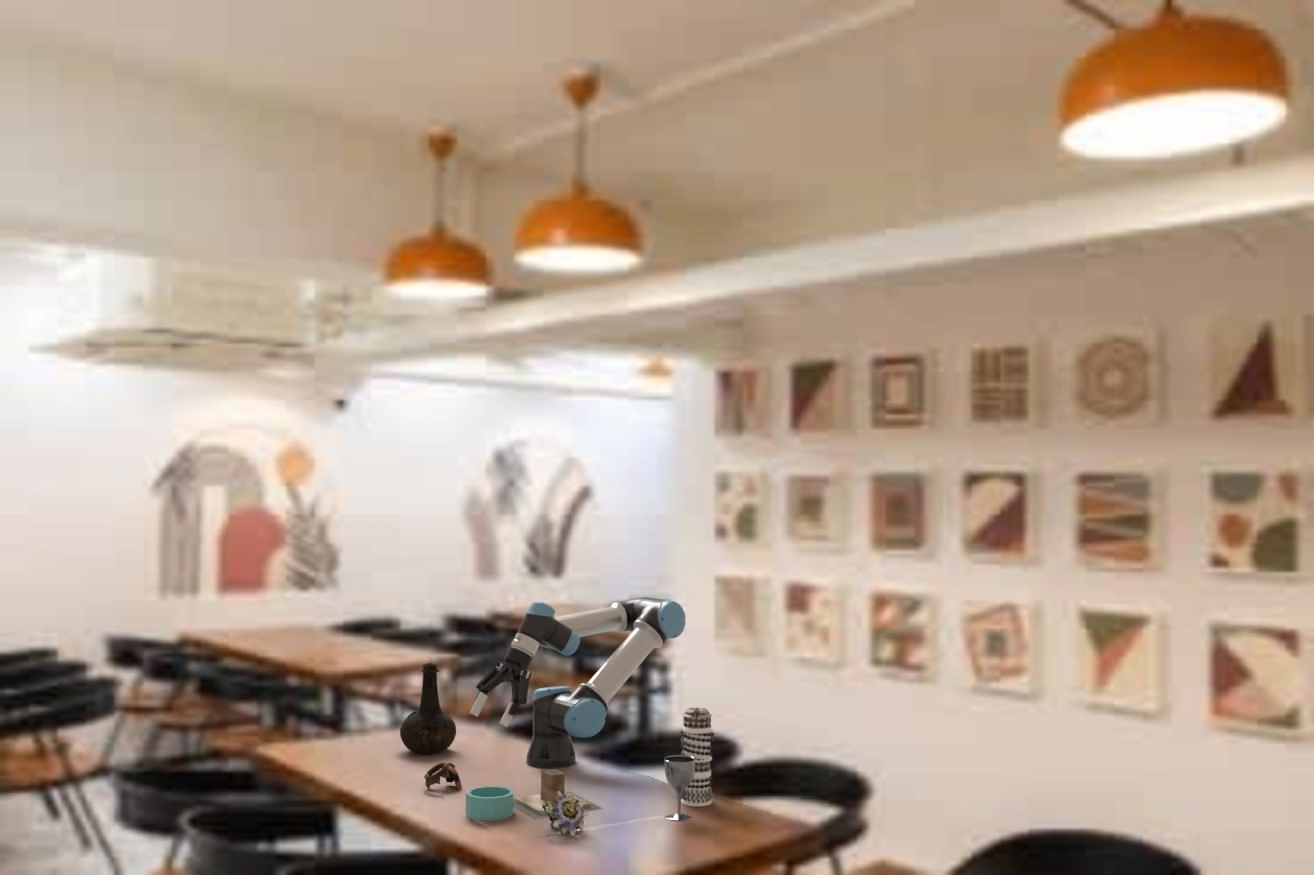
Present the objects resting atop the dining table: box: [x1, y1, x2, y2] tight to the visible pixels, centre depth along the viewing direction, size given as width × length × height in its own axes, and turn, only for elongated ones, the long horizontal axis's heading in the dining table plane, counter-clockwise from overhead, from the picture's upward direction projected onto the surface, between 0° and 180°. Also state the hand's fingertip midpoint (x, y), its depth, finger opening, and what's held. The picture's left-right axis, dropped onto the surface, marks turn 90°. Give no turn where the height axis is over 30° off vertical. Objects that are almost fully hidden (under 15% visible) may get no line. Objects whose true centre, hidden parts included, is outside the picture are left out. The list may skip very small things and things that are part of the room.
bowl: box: [465, 785, 515, 823], centre depth 297 cm, size 12×12×6 cm
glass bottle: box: [399, 662, 457, 755], centre depth 369 cm, size 18×18×28 cm
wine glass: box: [663, 754, 695, 822], centre depth 298 cm, size 8×8×15 cm
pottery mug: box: [423, 761, 462, 791], centre depth 324 cm, size 12×9×8 cm
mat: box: [514, 791, 604, 820], centre depth 306 cm, size 20×20×1 cm
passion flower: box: [542, 791, 589, 838], centre depth 283 cm, size 11×11×12 cm
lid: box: [514, 768, 591, 815], centre depth 306 cm, size 15×15×8 cm
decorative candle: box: [679, 707, 715, 807], centre depth 313 cm, size 9×9×25 cm
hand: (488, 720), depth 327 cm, fingers open, 13 cm apart
